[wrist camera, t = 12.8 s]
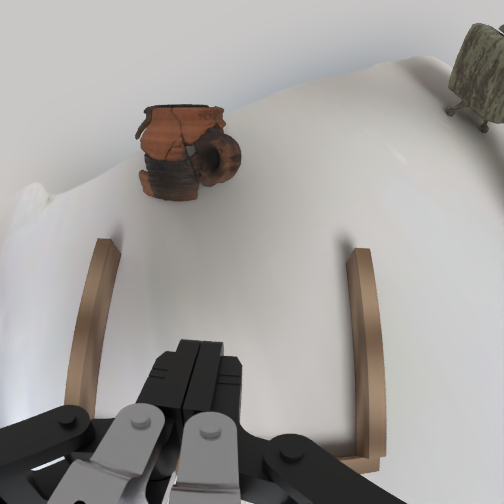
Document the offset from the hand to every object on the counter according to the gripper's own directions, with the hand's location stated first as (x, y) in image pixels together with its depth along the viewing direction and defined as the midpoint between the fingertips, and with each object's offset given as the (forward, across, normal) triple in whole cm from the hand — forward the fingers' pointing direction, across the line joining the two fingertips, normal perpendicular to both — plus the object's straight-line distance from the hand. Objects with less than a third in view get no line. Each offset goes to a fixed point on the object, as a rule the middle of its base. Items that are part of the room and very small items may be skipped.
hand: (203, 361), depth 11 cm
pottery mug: (+21, +5, -6) cm, 22 cm away
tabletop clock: (+34, -38, -19) cm, 54 cm away
